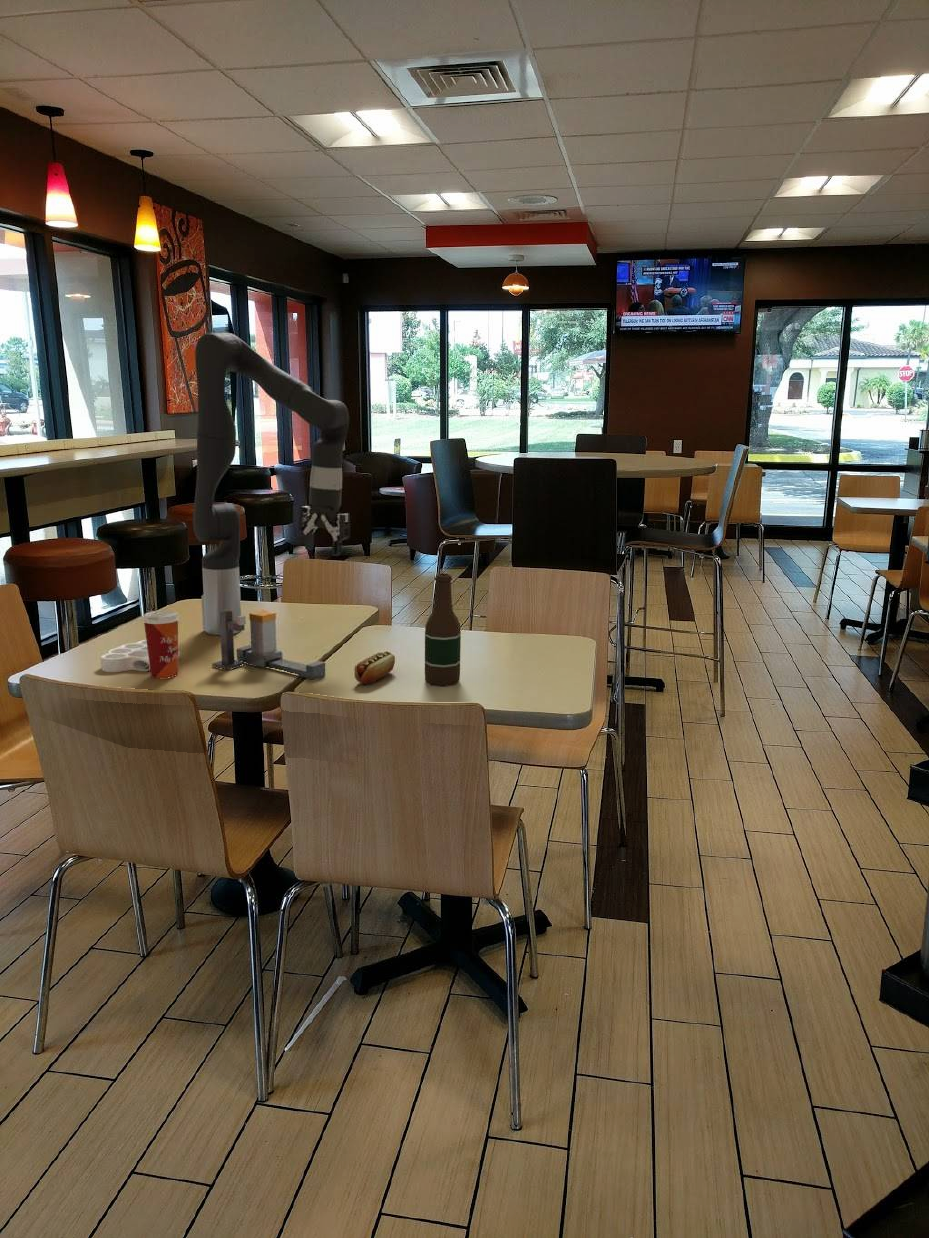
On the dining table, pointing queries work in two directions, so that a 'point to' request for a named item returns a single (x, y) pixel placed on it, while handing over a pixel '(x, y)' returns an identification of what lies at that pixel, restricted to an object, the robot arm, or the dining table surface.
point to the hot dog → (374, 667)
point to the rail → (289, 665)
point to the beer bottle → (442, 638)
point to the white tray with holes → (127, 658)
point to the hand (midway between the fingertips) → (322, 552)
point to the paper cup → (162, 642)
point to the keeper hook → (229, 639)
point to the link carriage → (262, 638)
